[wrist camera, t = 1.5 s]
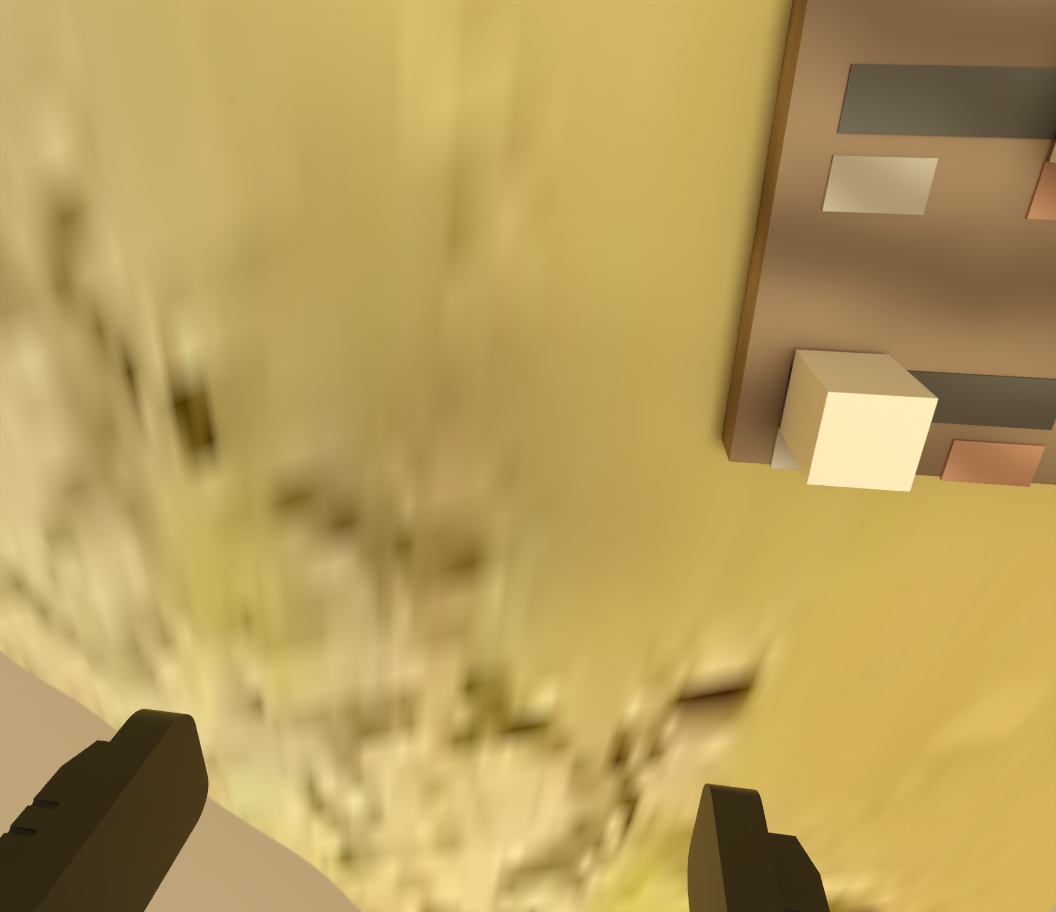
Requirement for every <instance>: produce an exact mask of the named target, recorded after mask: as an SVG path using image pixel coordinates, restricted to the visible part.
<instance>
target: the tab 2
mask: <svg viewBox="0 0 1056 912" xmlns="http://www.w3.org/2000/svg"><path fill="white" fill-rule="evenodd" d="M1049 162H1053V163H1056V143H1055V146H1054V149H1053V152H1052V155H1051V158H1050V161H1049Z"/></svg>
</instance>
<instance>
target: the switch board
mask: <svg viewBox="0 0 1056 912" xmlns="http://www.w3.org/2000/svg"><path fill="white" fill-rule="evenodd" d="M1055 143H1056V0H793V5H792V11H791V18H790V24H789V30H788V36H787V42H786V48H785V54H784V61H783V67H782V73H781V79H780V85H779V91H778V97H777V103H776V110H775V116H774V122H773V128H772V134H771V140H770V146H769V153H768V159H767V165H766V171H765V177H764V183H763V189H762V196H761V202H760V208H759V214H758V220H757V226H756V232H755V239H754V245H753V251H752V257H751V263H750V269H749V275H748V282H747V288H746V294H745V300H744V306H743V312H742V318H741V325H740V331H739V337H738V343H737V349H736V355H735V361H734V367H733V374H732V380H731V386H730V392H729V398H728V404H727V410H726V417H725V423H724V429H723V435H722V441H723V444H724V447H725V450H726V453H727V456H728V460H729V461H732V462H746V463H760V464H770V468H775V469H789V470H800V469H799V468H798V466H797V464H796V462H795V460H794V458H793V456H792V454H791V452H790V450H789V448H788V446H787V444H786V442H785V440H784V438H783V436H782V434H781V432H780V426H781V421H782V417H783V412H784V407H785V402H786V397H787V392H788V387H789V382H790V377H791V372H792V367H793V362H794V357H795V352H796V349H798V350H816V351H834V352H852V353H869V354H887V355H890V356H891V357H892V358H893V359H894V360H896V361H897V362H898V363H899V364H900V365H901V366H902V367H903V368H905V369H906V370H907V371H908V372H909V373H910V374H911V375H912V376H914V377H915V378H916V379H917V380H918V381H919V382H920V383H921V384H923V385H924V386H925V387H926V388H927V389H928V390H929V391H930V392H932V393H933V394H934V395H935V396H936V397H937V398H938V401H937V405H936V408H935V411H934V414H933V418H932V421H931V424H930V427H929V431H928V434H927V437H926V440H925V444H924V447H923V450H922V453H921V457H920V460H919V463H918V466H917V470H916V473H915V475H928V476H941V477H940V480H943V481H956V482H970V483H984V484H998V485H1012V486H1026V487H1030V484H1031V483H1040V484H1054V485H1056V163H1053V162H1049V161H1050V158H1051V155H1052V152H1053V149H1054V146H1055Z"/></svg>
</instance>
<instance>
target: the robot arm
mask: <svg viewBox="0 0 1056 912" xmlns="http://www.w3.org/2000/svg"><path fill="white" fill-rule="evenodd" d="M207 793H208V775H207V771H206V767H205V763H204V758H203V754H202V750H201V746H200V741H199V737H198V733H197V729H196V724H195V721H194V719H193V717H192V716H190V715H188V714H181V713H173V712H165V711H158V710H150V709H141V710H139V711H137V712H135V713H134V714H133V715H132V716H131V717H130V718H129V719H128V720H127V721H126V722H125V724H124V725H123V726H122V727H121V729H120V730H119V731H118V732H117V733H116V735H115V736H114V737H113V738H112V740H111V741H110V742H107V741H99V740H97V741H96V742H95V743H93V744H92V745H90V746H89V747H88V748H86V749H85V750H83V751H82V752H81V753H79V754H78V755H77V756H75V757H74V758H72V759H71V760H70V761H68V762H67V763H65V764H64V765H63V766H61V767H60V769H59V770H58V771H57V772H56V773H55V774H54V776H53V777H52V778H51V779H50V780H49V781H48V783H47V784H46V785H45V786H44V787H43V789H42V790H41V791H40V792H39V793H38V794H37V795H36V797H35V798H34V801H33V804H32V805H31V806H27V807H26V808H25V810H24V811H23V812H22V813H21V814H20V815H19V816H18V818H17V819H16V820H15V821H14V822H13V823H12V825H11V826H10V830H9V832H8V833H4V834H3V835H2V836H1V837H0V912H144V911H145V909H146V907H147V906H148V904H149V902H150V901H151V899H152V897H153V895H154V894H155V892H156V891H157V889H158V887H159V886H160V884H161V882H162V881H163V879H164V877H165V875H166V874H167V872H168V871H169V869H170V867H171V865H172V864H173V862H174V860H175V859H176V857H177V855H178V854H179V852H180V850H181V849H182V847H183V845H184V844H185V842H186V840H187V839H188V837H189V835H190V834H191V832H192V830H193V829H194V827H195V825H196V824H197V822H198V820H199V818H200V816H201V813H202V811H203V808H204V805H205V802H206V798H207ZM688 898H689V909H690V912H830V910H829V906H828V903H827V899H826V895H825V891H824V887H823V884H822V880H821V876H820V873H819V872H818V870H817V869H816V867H815V866H814V864H813V862H812V861H811V859H810V858H809V856H808V855H807V853H806V852H805V850H804V849H803V847H802V846H801V844H800V842H799V841H798V839H797V838H796V836H790V835H783V834H775V833H768V829H767V824H766V820H765V815H764V810H763V805H762V801H761V798H760V795H759V793H758V792H757V791H756V790H752V789H745V788H737V787H729V786H722V785H714V784H705V785H704V788H703V791H702V795H701V800H700V804H699V808H698V813H697V817H696V822H695V826H694V830H693V835H692V839H691V843H690V848H689V856H688Z"/></svg>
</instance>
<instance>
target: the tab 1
mask: <svg viewBox="0 0 1056 912" xmlns="http://www.w3.org/2000/svg"><path fill="white" fill-rule="evenodd" d="M937 401H938V398H937V397H936V396H935V395H934V394H933V393H932V392H930V391H929V390H928V389H927V388H926V387H925V386H924V385H923V384H921V383H920V382H919V381H918V380H917V379H916V378H915V377H914V376H912V375H911V374H910V373H909V372H908V371H907V370H906V369H905V368H903V367H902V366H901V365H900V364H899V363H898V362H897V361H896V360H894V359H893V358H892V357H891V356H890V355H887V354H869V353H852V352H834V351H816V350H798V349H796V352H795V357H794V362H793V367H792V372H791V377H790V382H789V387H788V392H787V397H786V402H785V407H784V412H783V417H782V421H781V426H780V432H781V434H782V436H783V438H784V440H785V442H786V444H787V446H788V448H789V450H790V452H791V454H792V456H793V458H794V460H795V462H796V464H797V466H798V468H799V469H800V471H801V473H802V475H803V477H804V479H805V481H806V483H807V484H813V485H827V486H841V487H854V488H868V489H881V490H895V491H909V492H910V489H911V486H912V483H913V479H914V476H915V473H916V470H917V466H918V463H919V460H920V457H921V453H922V450H923V447H924V444H925V440H926V437H927V434H928V431H929V427H930V424H931V421H932V418H933V414H934V411H935V408H936V405H937Z"/></svg>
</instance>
